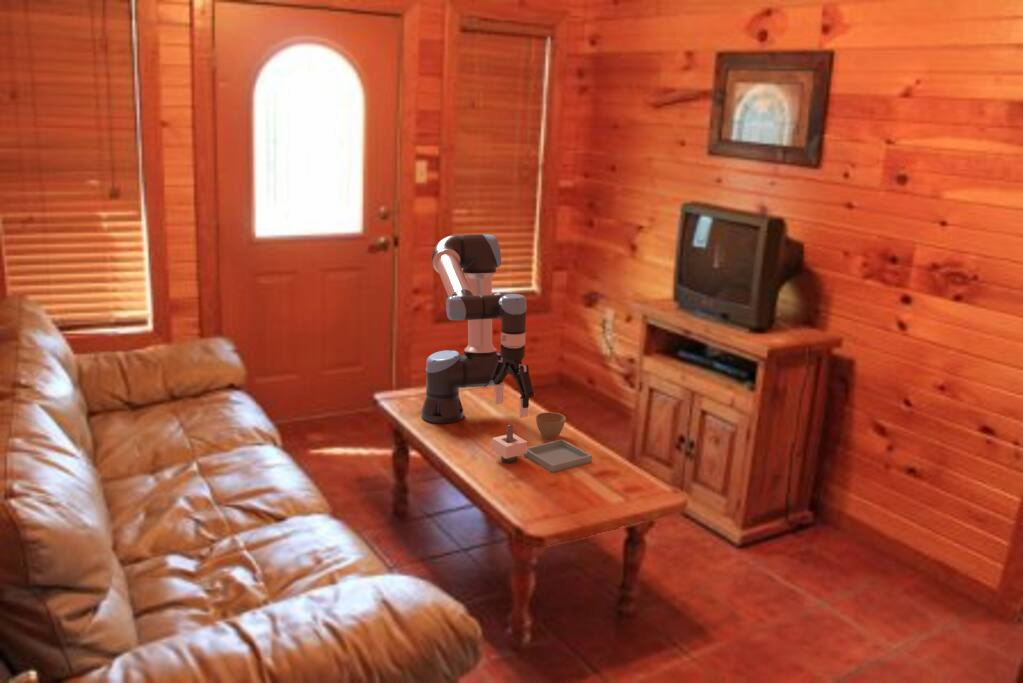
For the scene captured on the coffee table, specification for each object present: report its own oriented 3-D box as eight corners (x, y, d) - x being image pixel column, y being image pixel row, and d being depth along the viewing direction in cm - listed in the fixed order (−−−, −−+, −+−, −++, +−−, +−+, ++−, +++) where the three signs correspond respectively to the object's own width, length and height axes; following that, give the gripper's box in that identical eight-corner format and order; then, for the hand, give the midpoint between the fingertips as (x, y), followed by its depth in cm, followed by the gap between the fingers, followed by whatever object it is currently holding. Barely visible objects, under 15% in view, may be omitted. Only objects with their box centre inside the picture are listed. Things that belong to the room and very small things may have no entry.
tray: (523, 455, 281) (523, 448, 280) (561, 445, 290) (562, 439, 289) (552, 473, 269) (552, 465, 268) (591, 462, 277) (592, 455, 277)
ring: (491, 449, 277) (492, 438, 276) (512, 444, 282) (512, 433, 280) (505, 458, 271) (506, 446, 270) (526, 453, 275) (527, 441, 274)
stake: (498, 459, 278) (499, 424, 274) (511, 455, 280) (512, 421, 277) (506, 464, 274) (508, 429, 270) (519, 461, 276) (521, 426, 273)
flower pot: (562, 444, 291) (563, 424, 289) (532, 440, 293) (533, 421, 291) (566, 432, 300) (567, 413, 298) (538, 430, 302) (538, 410, 300)
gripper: (480, 336, 274) (479, 400, 280) (526, 357, 254) (524, 424, 260) (500, 333, 278) (498, 396, 284) (547, 353, 258) (544, 420, 264)
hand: (510, 410), depth 272 cm, fingers open, 13 cm apart
